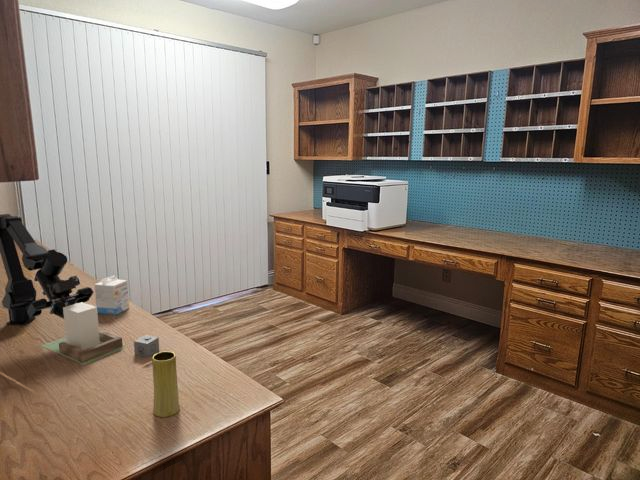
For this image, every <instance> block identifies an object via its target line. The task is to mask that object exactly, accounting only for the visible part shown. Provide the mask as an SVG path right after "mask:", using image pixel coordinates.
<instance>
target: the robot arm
mask: <svg viewBox="0 0 640 480" xmlns="http://www.w3.org/2000/svg"><path fill="white" fill-rule="evenodd" d="M17 247H18V249H19V250H20V251H21V253H22V256H21V261H22V264H23V265H22V264H21V261H20V257H19V254H18V250H17ZM0 257H1V260H2V264H3V267H4V270H5V273H6V277H7V282H6V285H5V288H4V291H5V295H4V296H3V298H2V301H1V304H2V307H3V308H4V309H7V311H8V317H9V321H7V322H6V325H17V326H18V325H22V326H23V325H26V324H28V323H29V322H31V321H33V320H35V319H36V318H37V317H39V316H41V314H42V312H43V311H42V310H45V309H50V312H49V314H50V315H55V316H57V317H59V318H62V319H63V320H64V313H63V307H67V306H70V305H74V304H77V303H81V302H83V303H86V302H89V300H90V299H91V298H92V296H93V294H95V291H94V290H93V288H91V287H89V286H87V287H83V288H78V289H77V286H79V285H80V284H81V282H80V278H78V276H77V275H72V276H70V277H69V278H68V279H66V280H65V279H61V278H60V276H59V275H60V274H61V273H62V272H63V270H64V268H65V266H66V264H67V263H68V257H67V256H66V254H64V253H62V252H60V251H56V249H53V248H52V249H47V248H45V247H44V246H42V245H39V244H38V243H37V242H36V241H35V239H34V238H33V236H32V235H31V233H30V232H29V231H28V229H27V228H26V226H25V225H24V224H23V219H22V218H21V216H18V215H11V214H10V213H5V214H3V213H2V214H0ZM22 266H23V267H24V268H25V269H26V270H27V271H31V272H32V271H36V273H35V276H34V278H33V279H34V281H35V282H38V283H39V285H40V287H41V289H42V290H43V291H42V295H43V296H46V297H47V299H46V298H41V299H37V290H36V288H35V286H34V283H33V280H32V279H29V278H27V277H26V276H25V275H24V270H23V267H22ZM73 289H77V291H76V293H74V294H72V292H73ZM70 294H71V295H70Z"/></svg>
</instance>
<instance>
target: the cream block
mask: <svg viewBox="0 0 640 480" xmlns="http://www.w3.org/2000/svg"><path fill="white" fill-rule="evenodd" d="M63 313H64V319H63V322H64V332H65V337H66V343H68V344H71V345H73V346H75V347H78V348H80V349H82V350H86V349H88V348H91V347H93V346H96V345H99V344H100V338H99V329H100V327H99V316H98V314H99V313H98V312H97V307H96V305H95V306H94V305H92V304H89V303H86V302H84V303H83V302H81V303H76V304H74V305H70V306H67V307H63Z"/></svg>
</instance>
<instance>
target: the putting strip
mask: <svg viewBox="0 0 640 480" xmlns="http://www.w3.org/2000/svg"><path fill="white" fill-rule="evenodd" d="M61 342H66V336H65V337H61V338H58V339H56V340H53V341H50V342H47V343H43V344H41V345H40V346H41V347H43V348H46V349H47V350H50V351H52V352H54V353H56V354H59V355H61V356H62V357H65V358H67V359H69V360H72V361H74V362H76V363H78V364H81V365H83V366H85V365H88V364H89V363H92V362H95V361H97V360H100V359H102V358H104V357H107V356H109V355H112V354H114V353H116V352H119V351H121V350H124V349H126V348H127V346H125V345H123V347H120V348H118V349H115V350H113V351H111V352H108V353H106V354H103V355H101V356H98V357H96V358H93V359H91V360H89V361H86V362H84V363H82V362H80V361H77V360H75V359H73V358H71V357H69V356H66V355H64V354H62V353H60V351H59V343H61ZM101 343H104V342H101V341H100V344H101Z"/></svg>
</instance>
